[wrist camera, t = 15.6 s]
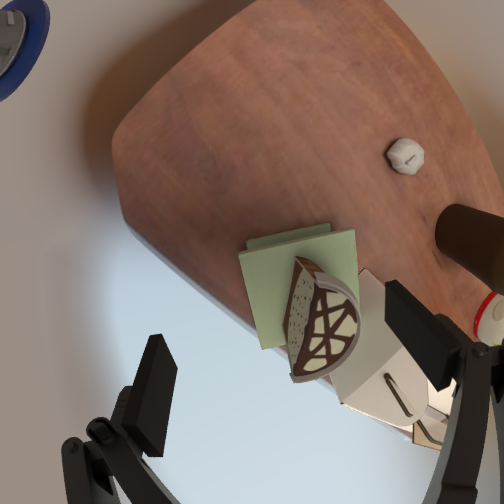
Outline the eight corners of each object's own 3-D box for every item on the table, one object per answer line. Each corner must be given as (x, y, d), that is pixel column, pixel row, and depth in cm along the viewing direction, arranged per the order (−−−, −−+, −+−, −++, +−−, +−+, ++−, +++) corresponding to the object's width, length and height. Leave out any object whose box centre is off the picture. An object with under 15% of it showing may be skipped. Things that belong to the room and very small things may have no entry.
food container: (323, 334, 38) (346, 384, 29) (279, 333, 38) (292, 386, 28) (345, 248, 34) (382, 285, 25) (296, 243, 34) (320, 280, 24)
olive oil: (432, 204, 41) (550, 257, 18) (473, 196, 41) (580, 239, 18) (431, 263, 45) (528, 339, 21) (470, 251, 45) (563, 311, 21)
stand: (257, 318, 46) (261, 350, 38) (237, 235, 41) (238, 254, 34) (342, 298, 46) (360, 325, 38) (333, 214, 41) (354, 229, 34)
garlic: (385, 176, 39) (403, 180, 35) (379, 140, 38) (396, 140, 33) (416, 170, 39) (435, 174, 34) (411, 136, 38) (430, 136, 33)
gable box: (308, 326, 47) (364, 474, 21) (363, 266, 44) (473, 387, 18) (382, 373, 53) (440, 479, 26) (427, 327, 50) (507, 422, 23)
